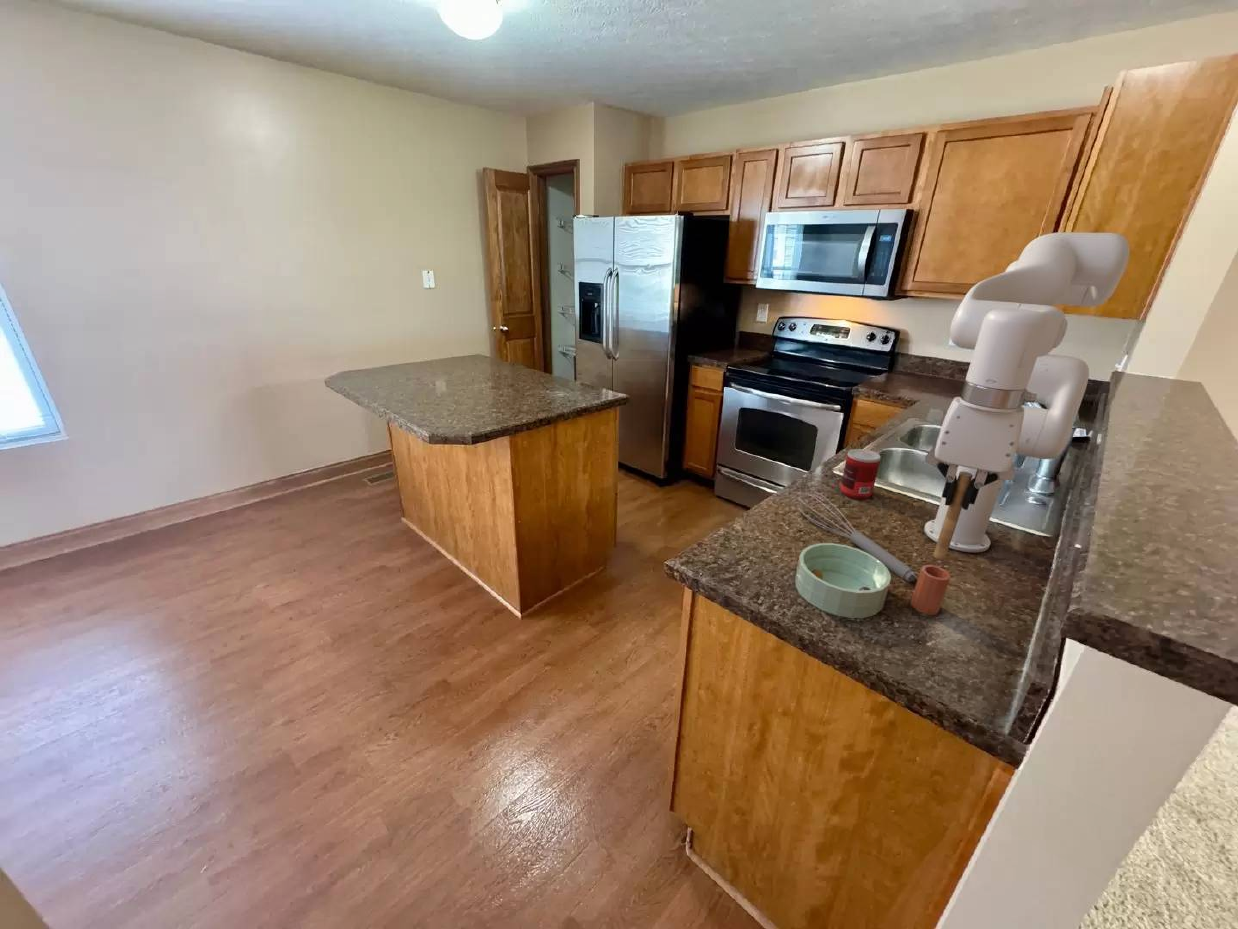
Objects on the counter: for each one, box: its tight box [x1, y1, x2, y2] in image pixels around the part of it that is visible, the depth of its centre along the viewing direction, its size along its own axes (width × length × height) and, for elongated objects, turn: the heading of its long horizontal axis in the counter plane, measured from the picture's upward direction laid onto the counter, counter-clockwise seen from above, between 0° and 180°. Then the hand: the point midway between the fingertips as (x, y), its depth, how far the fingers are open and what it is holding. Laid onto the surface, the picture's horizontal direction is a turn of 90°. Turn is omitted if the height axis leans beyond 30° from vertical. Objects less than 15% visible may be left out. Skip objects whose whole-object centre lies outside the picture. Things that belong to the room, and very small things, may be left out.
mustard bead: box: [811, 569, 823, 579], centre depth 98 cm, size 2×2×2 cm
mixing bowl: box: [794, 542, 892, 619], centre depth 95 cm, size 15×15×6 cm
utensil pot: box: [910, 564, 952, 616], centre depth 90 cm, size 4×4×8 cm
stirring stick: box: [932, 471, 973, 561], centre depth 85 cm, size 2×2×16 cm
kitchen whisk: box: [796, 491, 918, 583], centre depth 110 cm, size 6×34×6 cm, turn 23°
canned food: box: [840, 448, 882, 500], centre depth 132 cm, size 8×8×11 cm
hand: (956, 503), depth 84 cm, fingers closed on stirring stick, 1 cm apart
